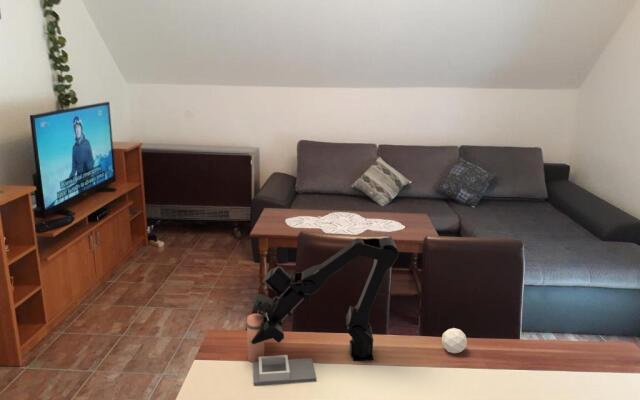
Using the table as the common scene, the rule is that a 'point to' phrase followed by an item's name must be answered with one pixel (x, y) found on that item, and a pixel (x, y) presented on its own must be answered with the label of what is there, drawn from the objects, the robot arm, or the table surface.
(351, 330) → the robot arm
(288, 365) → the jig
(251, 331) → the banded pink rod
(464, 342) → the geometric ball
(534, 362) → the table surface
